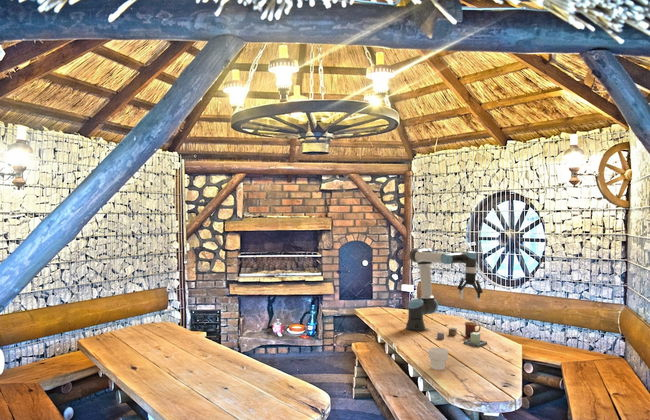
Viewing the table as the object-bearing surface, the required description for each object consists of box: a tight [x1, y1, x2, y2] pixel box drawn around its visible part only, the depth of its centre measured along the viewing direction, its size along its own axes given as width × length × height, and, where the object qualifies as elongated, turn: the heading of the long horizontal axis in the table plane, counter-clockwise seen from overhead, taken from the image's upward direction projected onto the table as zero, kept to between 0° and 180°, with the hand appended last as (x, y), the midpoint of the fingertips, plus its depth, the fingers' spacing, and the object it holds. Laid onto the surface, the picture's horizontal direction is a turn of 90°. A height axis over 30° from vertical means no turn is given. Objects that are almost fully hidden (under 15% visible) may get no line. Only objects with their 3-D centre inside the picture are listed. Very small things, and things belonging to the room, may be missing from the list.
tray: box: [463, 338, 488, 348], centre depth 377 cm, size 12×12×2 cm
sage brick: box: [469, 332, 481, 344], centre depth 377 cm, size 5×5×7 cm
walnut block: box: [448, 327, 458, 337], centre depth 401 cm, size 5×5×5 cm
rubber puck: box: [436, 331, 445, 340], centre depth 390 cm, size 5×5×4 cm
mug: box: [464, 321, 481, 338], centre depth 397 cm, size 12×9×10 cm
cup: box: [428, 346, 449, 371], centre depth 322 cm, size 12×12×11 cm
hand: (469, 300), depth 390 cm, fingers open, 13 cm apart
